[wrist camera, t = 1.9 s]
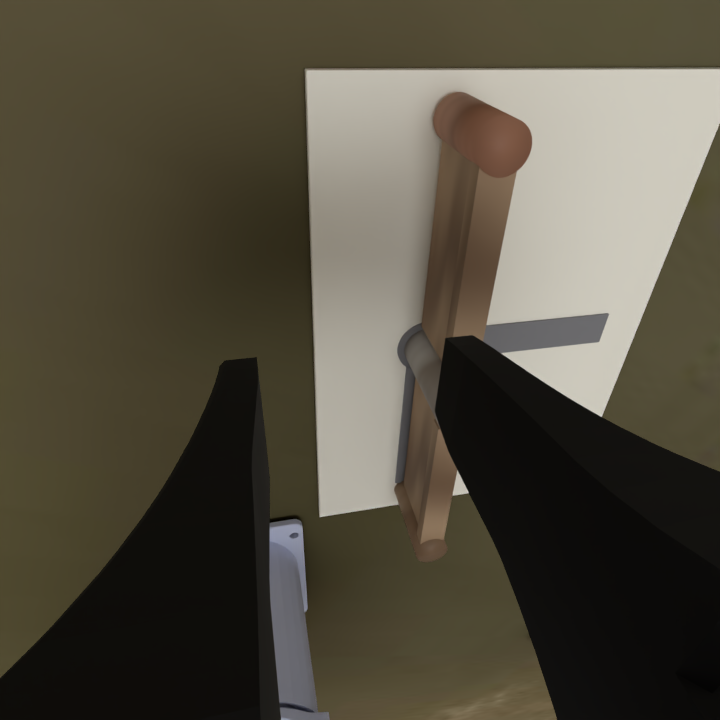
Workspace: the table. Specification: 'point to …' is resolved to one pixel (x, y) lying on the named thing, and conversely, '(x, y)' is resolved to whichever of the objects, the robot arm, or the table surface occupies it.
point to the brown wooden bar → (469, 213)
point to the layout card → (519, 248)
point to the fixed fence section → (426, 458)
